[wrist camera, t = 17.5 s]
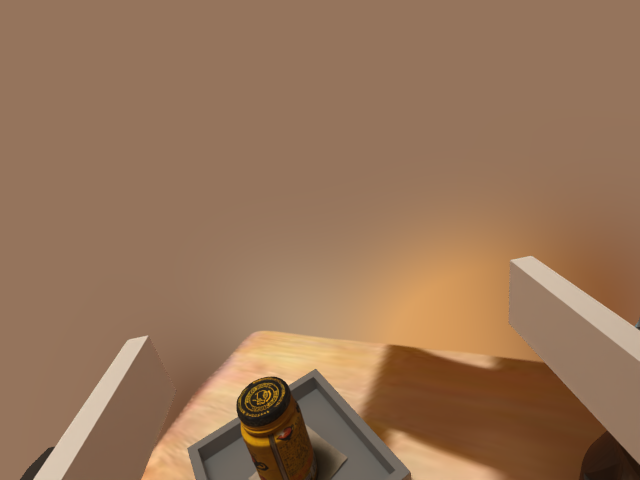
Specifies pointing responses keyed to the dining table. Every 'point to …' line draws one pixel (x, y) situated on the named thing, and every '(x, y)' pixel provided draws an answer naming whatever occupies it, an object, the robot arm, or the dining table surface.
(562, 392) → the dining table surface
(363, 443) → the tray
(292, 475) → the condiment
